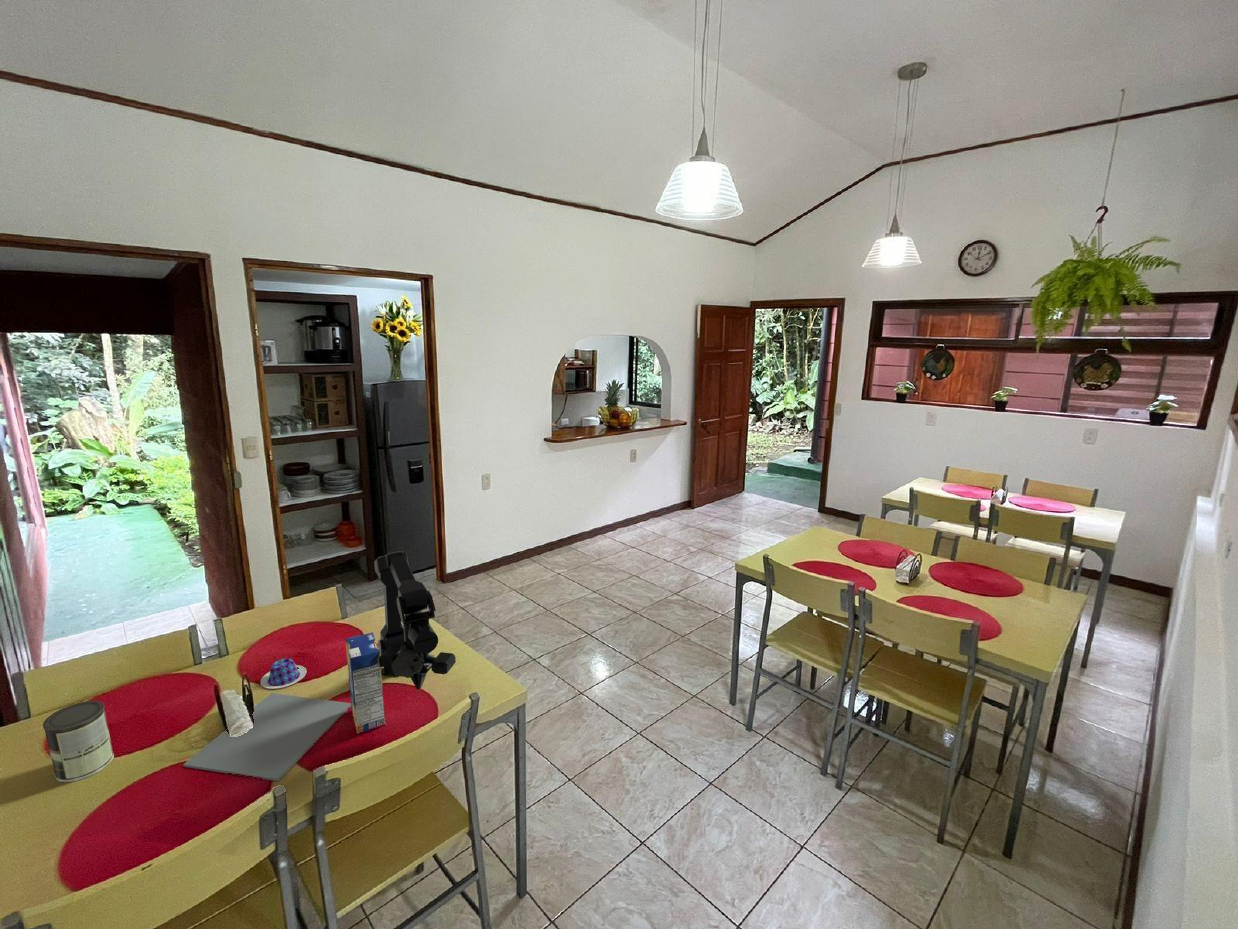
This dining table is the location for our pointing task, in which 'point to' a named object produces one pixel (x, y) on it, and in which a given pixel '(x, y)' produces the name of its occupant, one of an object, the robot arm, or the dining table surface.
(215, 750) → the mat
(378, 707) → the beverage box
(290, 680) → the pudding
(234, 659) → the dining table surface
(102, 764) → the coffee can
